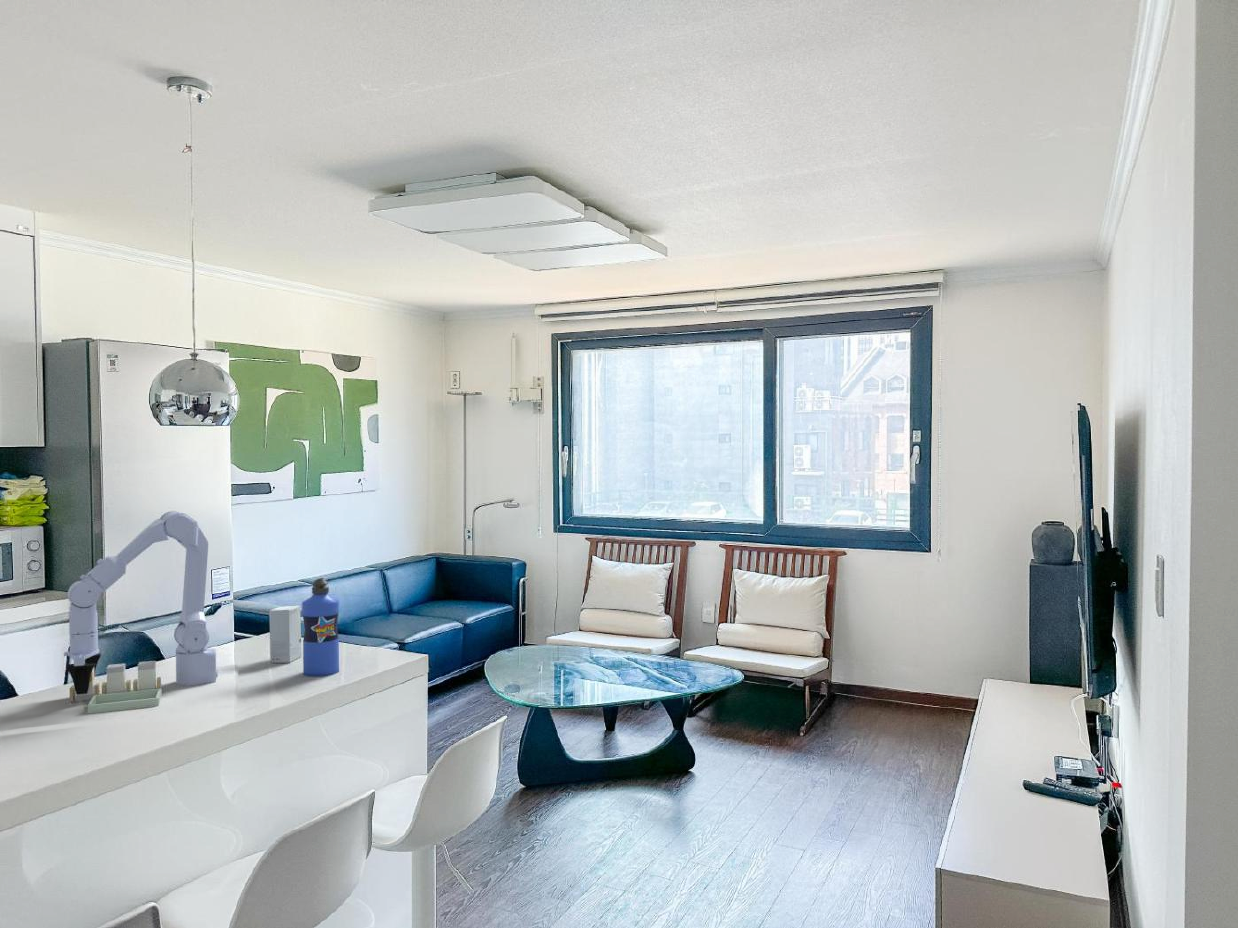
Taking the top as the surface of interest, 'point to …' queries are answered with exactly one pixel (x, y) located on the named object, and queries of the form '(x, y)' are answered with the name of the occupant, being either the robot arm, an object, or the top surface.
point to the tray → (125, 704)
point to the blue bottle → (320, 632)
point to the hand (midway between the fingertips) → (84, 689)
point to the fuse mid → (116, 678)
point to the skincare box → (285, 634)
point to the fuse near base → (147, 675)
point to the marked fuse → (90, 690)
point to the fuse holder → (104, 689)
